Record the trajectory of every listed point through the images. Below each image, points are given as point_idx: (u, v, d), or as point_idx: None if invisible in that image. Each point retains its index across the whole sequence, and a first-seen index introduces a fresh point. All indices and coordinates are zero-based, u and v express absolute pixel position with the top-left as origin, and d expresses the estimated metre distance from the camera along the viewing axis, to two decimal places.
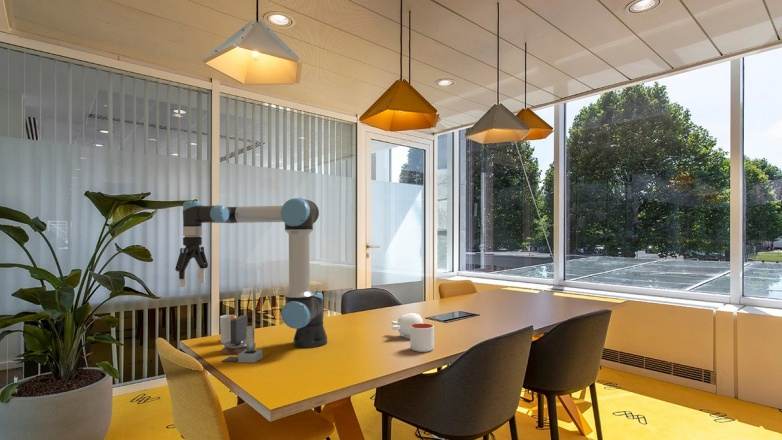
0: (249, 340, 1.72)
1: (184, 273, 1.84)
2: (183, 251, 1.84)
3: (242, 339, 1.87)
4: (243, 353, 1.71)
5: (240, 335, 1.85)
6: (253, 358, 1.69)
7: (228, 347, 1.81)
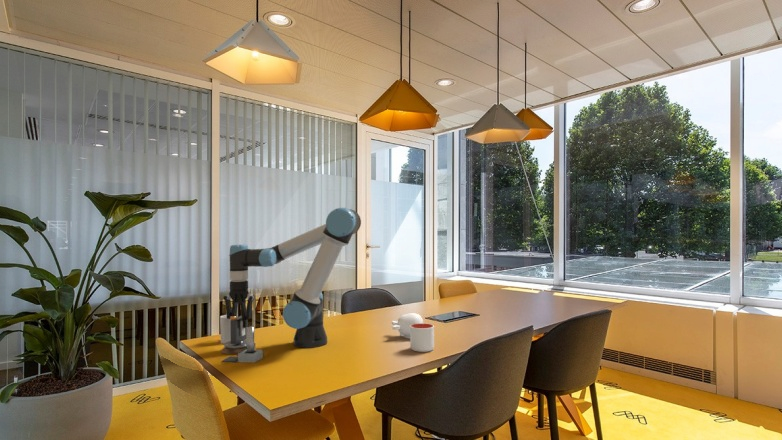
0: (249, 340, 1.72)
1: None
2: None
3: (242, 339, 1.87)
4: (243, 353, 1.71)
5: (240, 335, 1.85)
6: (253, 358, 1.69)
7: (228, 347, 1.81)
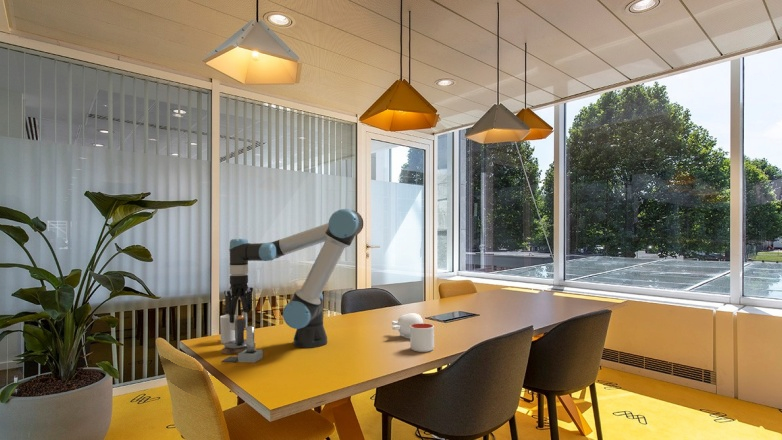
0: (249, 340, 1.72)
1: (234, 317, 1.84)
2: (227, 295, 1.81)
3: None
4: (243, 353, 1.71)
5: None
6: (253, 358, 1.69)
7: (236, 347, 1.80)
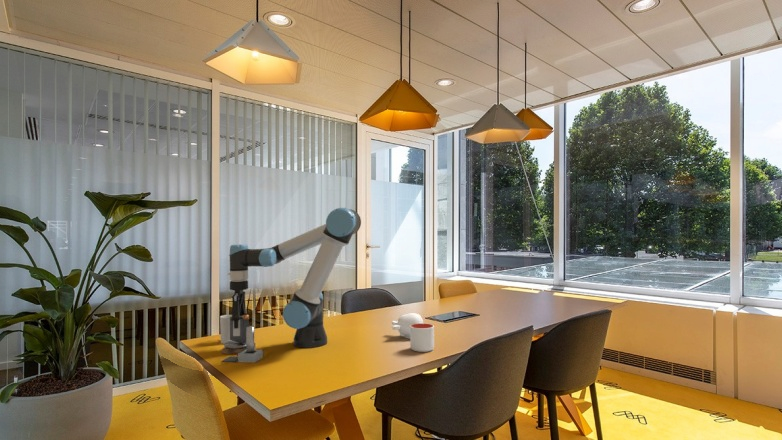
0: (249, 340, 1.72)
1: (238, 322, 1.82)
2: (236, 299, 1.80)
3: None
4: (243, 353, 1.71)
5: None
6: (253, 358, 1.69)
7: (243, 347, 1.81)
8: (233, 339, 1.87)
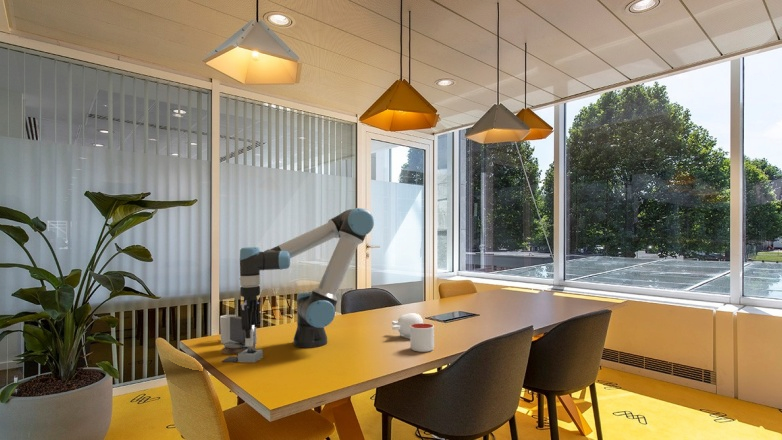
0: None
1: (250, 331, 1.71)
2: (244, 309, 1.67)
3: None
4: (243, 353, 1.71)
5: None
6: (253, 358, 1.69)
7: (243, 347, 1.81)
8: (233, 339, 1.87)
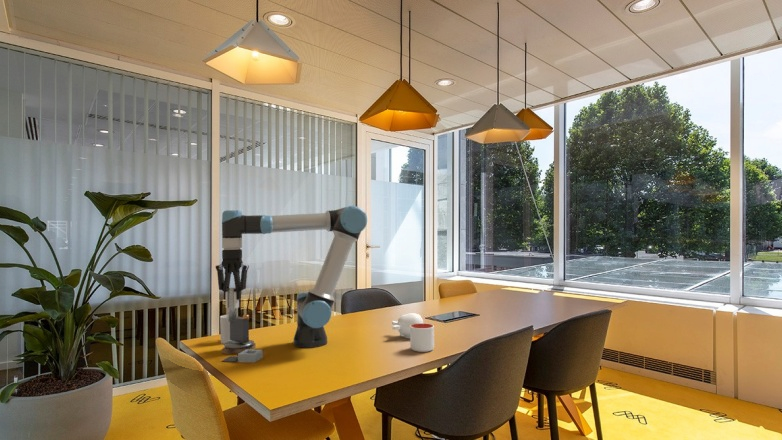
0: None
1: (226, 293, 1.73)
2: None
3: None
4: (243, 353, 1.71)
5: None
6: (253, 358, 1.69)
7: (243, 347, 1.81)
8: (233, 339, 1.87)
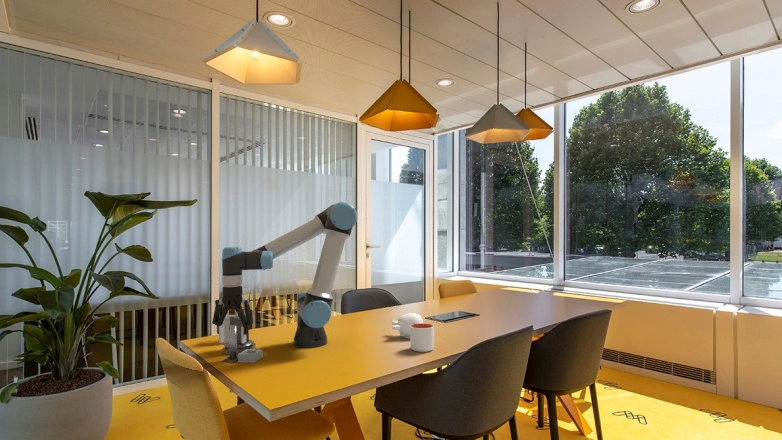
0: None
1: (219, 328, 1.73)
2: None
3: None
4: (243, 353, 1.71)
5: None
6: (253, 358, 1.69)
7: (243, 347, 1.81)
8: None
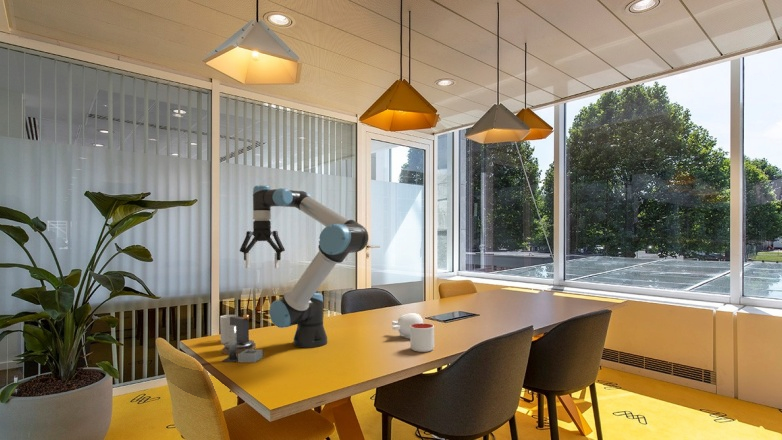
0: None
1: (246, 255, 1.94)
2: None
3: None
4: (243, 353, 1.71)
5: None
6: (253, 358, 1.69)
7: (243, 347, 1.81)
8: None
